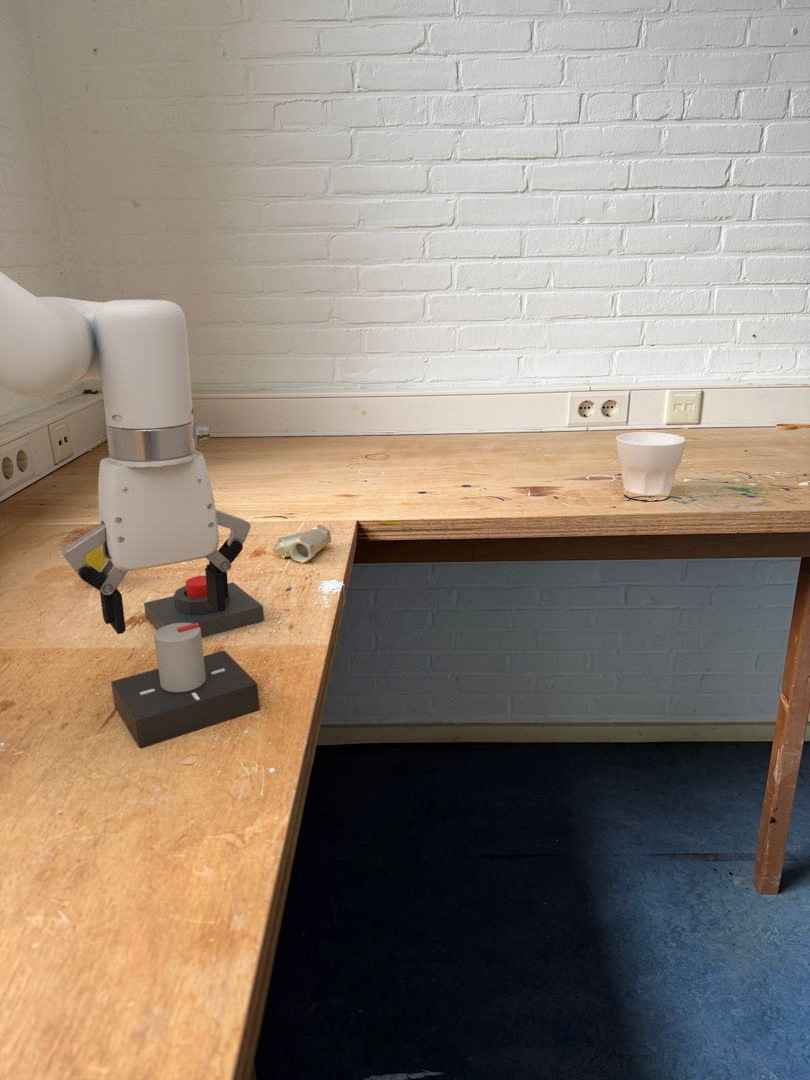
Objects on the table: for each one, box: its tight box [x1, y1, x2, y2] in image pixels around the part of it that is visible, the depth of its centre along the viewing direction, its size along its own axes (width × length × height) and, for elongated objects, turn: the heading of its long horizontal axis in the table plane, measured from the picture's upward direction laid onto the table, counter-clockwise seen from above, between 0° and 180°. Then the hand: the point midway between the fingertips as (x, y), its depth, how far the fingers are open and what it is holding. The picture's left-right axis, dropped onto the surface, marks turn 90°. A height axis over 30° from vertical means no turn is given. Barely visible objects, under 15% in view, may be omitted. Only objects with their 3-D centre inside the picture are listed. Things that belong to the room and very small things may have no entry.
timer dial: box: [153, 623, 206, 693], centre depth 79 cm, size 4×4×6 cm
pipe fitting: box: [272, 524, 332, 563], centre depth 123 cm, size 8×4×7 cm
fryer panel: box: [110, 650, 260, 749], centre depth 80 cm, size 12×9×3 cm
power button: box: [185, 575, 207, 598], centre depth 100 cm, size 4×4×2 cm
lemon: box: [85, 545, 108, 571], centre depth 112 cm, size 6×6×8 cm
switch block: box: [143, 581, 265, 639], centre depth 100 cm, size 12×10×4 cm
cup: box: [615, 431, 687, 495], centre depth 150 cm, size 12×12×11 cm
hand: (168, 617), depth 77 cm, fingers open, 9 cm apart
